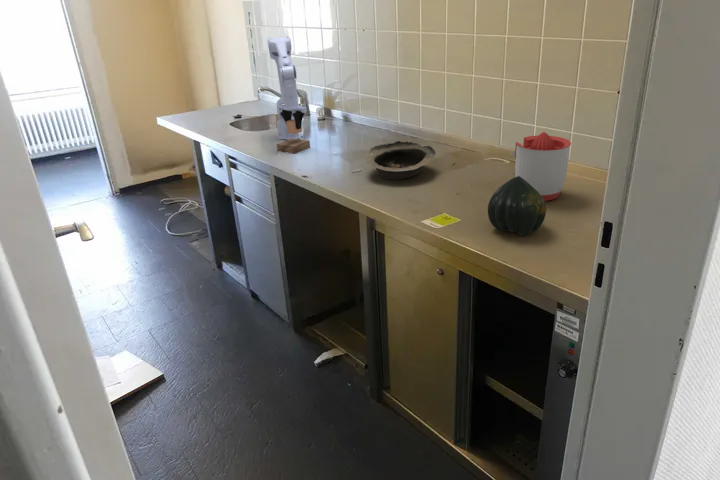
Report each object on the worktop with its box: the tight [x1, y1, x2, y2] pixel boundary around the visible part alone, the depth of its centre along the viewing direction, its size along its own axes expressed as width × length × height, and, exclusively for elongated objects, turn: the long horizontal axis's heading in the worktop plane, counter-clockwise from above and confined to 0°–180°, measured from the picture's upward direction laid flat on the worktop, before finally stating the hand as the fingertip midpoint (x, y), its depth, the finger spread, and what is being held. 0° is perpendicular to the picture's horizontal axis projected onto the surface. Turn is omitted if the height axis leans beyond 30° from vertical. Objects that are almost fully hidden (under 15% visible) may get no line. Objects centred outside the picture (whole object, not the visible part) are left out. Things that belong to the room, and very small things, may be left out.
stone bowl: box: [365, 140, 436, 181], centre depth 193 cm, size 25×25×9 cm
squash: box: [487, 176, 547, 236], centre depth 145 cm, size 14×15×15 cm
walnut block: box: [276, 138, 311, 155], centre depth 233 cm, size 10×10×4 cm
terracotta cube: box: [286, 119, 303, 134], centre depth 230 cm, size 4×4×5 cm
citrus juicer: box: [510, 131, 572, 202], centre depth 165 cm, size 16×17×20 cm
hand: (294, 128), depth 230 cm, fingers closed on terracotta cube, 4 cm apart
